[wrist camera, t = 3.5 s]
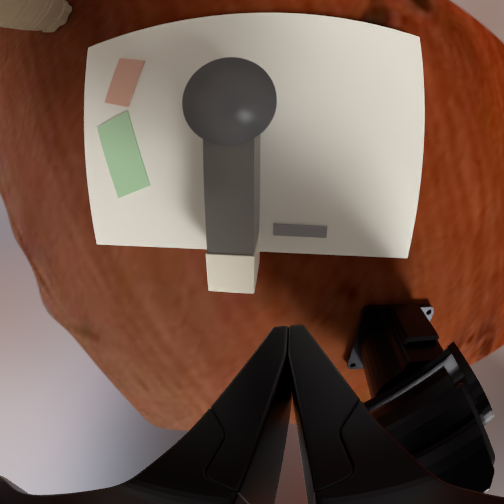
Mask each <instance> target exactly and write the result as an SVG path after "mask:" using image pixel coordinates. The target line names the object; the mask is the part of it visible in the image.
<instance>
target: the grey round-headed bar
mask: <svg viewBox="0 0 504 504" xmlns="http://www.w3.org/2000/svg"><path fill="white" fill-rule="evenodd" d="M276 107H277V96H276V90H275V86H274V84H273V81H272V80H271V78H270V76H269V75H268V74H267V72H266V71H265V70H264V69H263V68H261V67H260V66H259V65H257V64H256V63H254V62H252V61H249V60H247V59H243V58H237V57H226V58H220V59H216V60H214V61H211V62H209V63H207V64H205V65H204V66H202V67H201V68H199V69H198V70H197V71H196V72H195V73H194V74H193V75H192V77H191V78H190V79H189V81H188V83H187V85H186V87H185V90H184V93H183V97H182V109H183V114H184V117H185V120H186V122H187V124H188V125H189V127H190V128H191V129H192V131H193V132H194V133H195V134H197V135H198V136H199V137H201V138H202V139H203V172H204V201H205V223H206V241H207V253H206V266H207V279H208V291H219V292H233V293H249V294H254V291H255V285H256V280H257V274H258V269H259V263H260V231H259V219H260V134H262V133H263V132H264V131H265V130H266V129H267V127H268V126H269V125H270V123H271V121H272V120H273V118H274V115H275V112H276Z"/></svg>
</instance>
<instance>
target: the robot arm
mask: <svg viewBox="0 0 504 504" xmlns="http://www.w3.org/2000/svg"><path fill="white" fill-rule="evenodd" d="M428 310H429V311H428ZM368 311H370V313H367V312H368ZM427 311H428V312H427ZM433 312H434V308H433V307H432V306H431V305H429V304H425V305H418V304H392V305H368V306H365V307H364V308H363V309H362V311H361V315H360V319H359V322H358V326H357V330H356V333H355V337H354V340H353V344H352V347H351V350H350V353H349V357H348V360H347V367H348V368H349V369H364V371H365V375H366V379H367V383H368V387H369V391H370V395H371V399H370V400H368V401H366V402H364V403H362V401H360V399H359V397H358V396H357V395H356V394H355V392H354V391H353V390H352V388H351V387H350V386H349V384H348V383H347V382H346V380H345V379H344V378H343V376H342V375H341V374H340V372H339V371H338V370H337V368H336V367H335V366H334V365H333V363H332V362H331V361H330V359H329V358H328V357H327V355H326V354H325V353H324V351H323V350H322V349H321V347H320V346H319V345H318V343H317V342H316V341H315V339H314V338H313V337H312V335H311V334H310V333H309V331H308V330H307V329H306V327H305V326H304V325H292V326H289V328H288V327H287V326H280V327H274V328H273V329H272V330H271V331H270V333H269V334H268V335H267V337H266V338H265V339H264V341H263V342H262V343H261V345H260V346H259V347H258V349H257V350H256V351H255V353H254V354H253V355H252V357H251V358H250V359H249V360H248V362H247V363H246V364H245V366H244V367H243V368H242V369H241V371H240V372H239V373H238V374H237V376H236V377H235V378H234V379H233V381H232V382H231V383H230V384H229V386H228V387H227V388H226V389H225V390H224V392H223V393H222V394H221V395H220V397H219V398H218V399H217V400H216V401H215V403H214V404H213V405H212V406H211V409H208V411H207V412H206V413H205V414H204V415H203V417H202V418H201V419H200V420H199V421H198V422H197V423H196V424H195V425H194V426H193V427H192V428H191V430H190V431H189V432H188V433H187V434H185V435H184V437H182V438H181V439H180V440H179V441H178V442H177V443H176V444H175V445H174V446H172V447H171V448H170V449H169V450H168V451H166V452H165V453H164V454H163V455H162V456H160V457H159V458H158V459H157V460H155V461H154V462H153V463H152V464H150V465H149V466H148V467H147V468H146V469H144V470H143V471H141V472H140V473H139V474H137V475H136V476H135V477H133V478H131V479H130V480H128V481H126V482H124V483H122V484H119V485H116V486H113V487H110V488H105V489H98V490H92V491H85V492H77V493H67V494H55V495H31V494H28V493H27V492H25V491H24V490H22V489H21V488H19V487H18V486H16V485H15V484H14V483H12V482H11V481H9V480H8V479H6V478H4V477H2V476H0V504H275V499H276V494H277V489H278V484H279V478H280V473H281V468H282V462H283V456H284V450H285V444H286V438H287V432H288V425H289V418H290V411H291V403H292V397H293V406H294V412H295V419H296V425H297V432H298V438H299V445H300V451H301V459H302V465H303V473H304V480H305V487H306V494H307V502H308V504H504V497H500V496H494V495H489V494H485V493H484V492H485V491H487V490H488V489H490V486H491V483H492V479H493V475H494V467H493V464H494V461H495V454H494V451H493V449H492V446H491V443H490V440H489V438H488V435H487V433H486V430H485V428H484V425H486V424H487V423H489V422H490V421H491V420H493V419H494V418H495V417H494V414H493V411H492V408H491V406H490V403H489V401H488V399H487V397H486V395H485V392H484V391H483V389H482V387H481V385H480V383H479V381H478V379H477V378H476V376H475V374H474V372H473V371H472V369H471V367H470V366H469V364H468V363H467V361H466V360H465V358H464V356H463V355H462V353H461V352H460V350H459V349H458V347H457V346H456V344H455V343H454V342H452V343H451V344H450V345H449V346H447V347H448V348H447V349H446V350H444V351H443V349H442V347H441V345H440V344H439V342H438V339H439V336H438V334H437V333H436V331H435V329H434V328H433V326H432V325H431V323H430V320H431V317H432V315H433ZM366 313H367V314H366ZM352 363H353V364H352Z"/></svg>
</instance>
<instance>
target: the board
mask: <svg viewBox="0 0 504 504" xmlns="http://www.w3.org/2000/svg"><path fill="white" fill-rule="evenodd" d="M226 57H237V58H243V59H247V60H249V61H252V62H254V63H256V64H257V65H259V66H260V67H261V68H263V69H264V70H265V71H266V72H267V74H268V75H269V76H270V78H271V80H272V81H273V84H274V86H275V90H276V96H277V107H276V112H275V115H274V118H273V120H272V121H271V123H270V125H269V126H268V127H267V129H266V130H265V131H264V132H263V133H262V134H260V219H259V231H260V252H280V253H302V254H324V255H346V256H367V257H389V258H408V253H409V249H410V244H411V239H412V234H413V229H414V223H415V217H416V211H417V205H418V198H419V190H420V182H421V172H422V161H423V147H424V118H425V106H424V77H423V64H422V53H421V45H420V37H418V36H415V35H412V34H408V33H405V32H402V31H398V30H395V29H391V28H387V27H383V26H379V25H375V24H370V23H366V22H361V21H355V20H350V19H344V18H337V17H330V16H321V15H311V14H298V13H240V14H226V15H216V16H208V17H200V18H193V19H187V20H182V21H176V22H171V23H166V24H162V25H158V26H153V27H149V28H145V29H142V30H138V31H135V32H131V33H128V34H125V35H121V36H118V37H115V38H112V39H109V40H107V41H104V42H101V43H98V44H96V45H93V46H91V47H88V53H87V63H86V75H85V93H84V140H85V159H86V172H87V182H88V191H89V199H90V207H91V214H92V220H93V226H94V232H95V237H96V243H97V244H101V245H124V246H146V247H169V248H191V249H207V241H206V223H205V201H204V172H203V139H202V138H201V137H199V136H198V135H197V134H195V133H194V132H193V131H192V129H191V128H190V127H189V125H188V124H187V122H186V120H185V117H184V114H183V109H182V97H183V93H184V90H185V87H186V85H187V83H188V81H189V79H190V78H191V77H192V75H193V74H194V73H195V72H196V71H197V70H198V69H199V68H201V67H202V66H204V65H205V64H207V63H209V62H211V61H214V60H216V59H220V58H226Z"/></svg>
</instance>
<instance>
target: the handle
mask: <svg viewBox="0 0 504 504" xmlns="http://www.w3.org/2000/svg"><path fill="white" fill-rule="evenodd" d="M71 12H72V7H71V6H70V5H69V3H68V2H67V1H66V0H0V27H5V28H12V29H22V30H32V31H40V30H42V32H54V31H56V29H57V28H59V27H60V26H61V25H64V24H65V23H66V22H67V19H68V16H69V14H70V13H71Z"/></svg>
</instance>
